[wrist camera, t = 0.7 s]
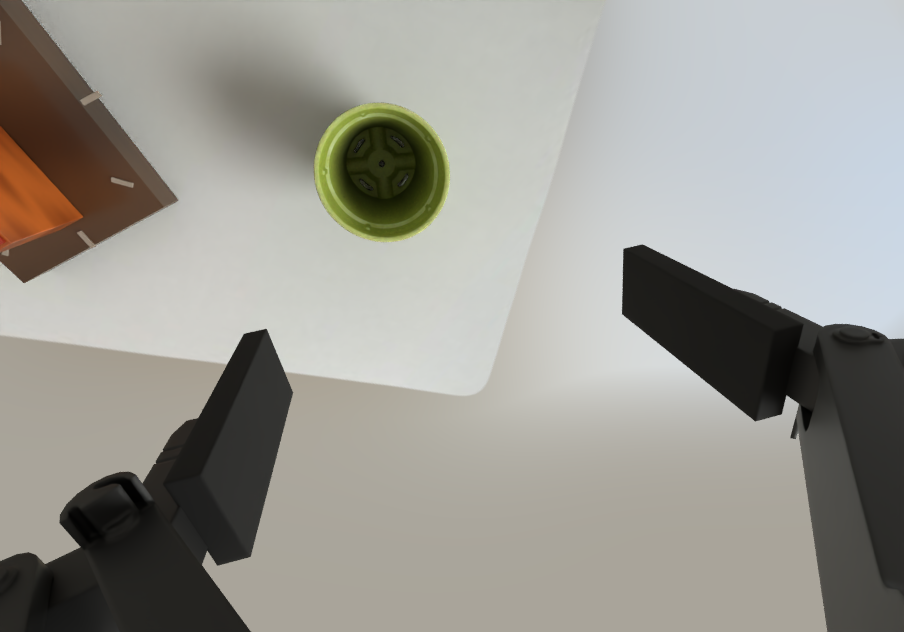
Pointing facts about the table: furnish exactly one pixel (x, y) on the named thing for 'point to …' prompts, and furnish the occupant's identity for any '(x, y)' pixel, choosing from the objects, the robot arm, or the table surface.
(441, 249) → the table surface
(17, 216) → the pointer
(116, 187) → the dial panel
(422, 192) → the plant pot
